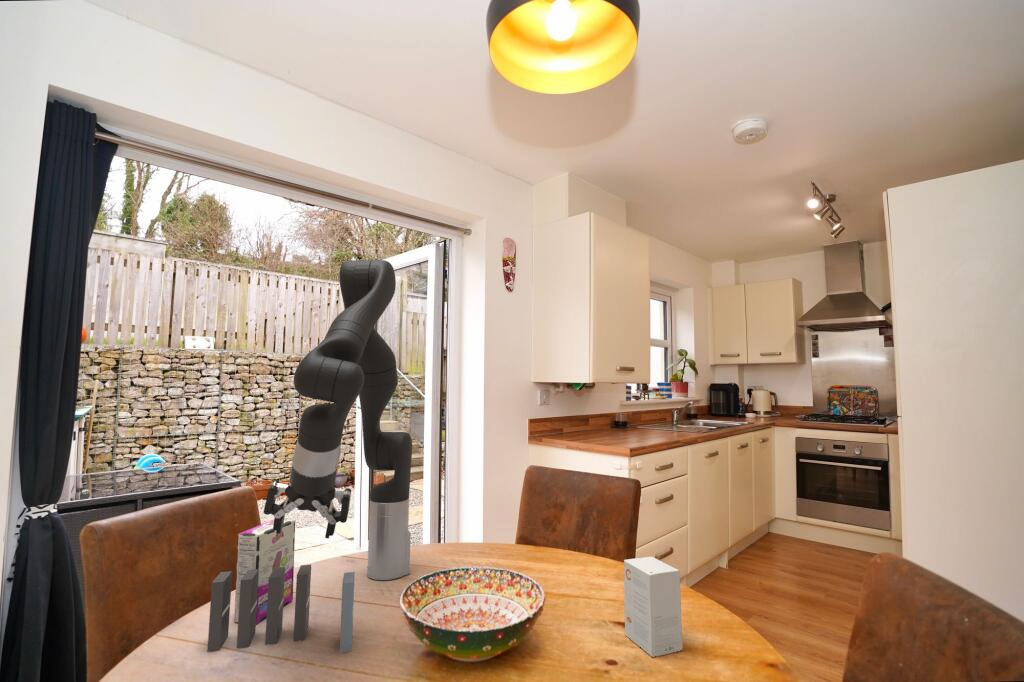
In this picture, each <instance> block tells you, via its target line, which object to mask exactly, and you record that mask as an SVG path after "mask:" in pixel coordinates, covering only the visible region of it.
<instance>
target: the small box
mask: <svg viewBox="0 0 1024 682" xmlns="http://www.w3.org/2000/svg"><path fill="white" fill-rule="evenodd" d="M623 574H624V575H623V576H624V577H623V580H624V581H623V582H624V583H623V586H624V589H623V590H624V592H623V593H624V634H625V637H626V638H628V639H629V638H630V640H631V641H632V642H633V643H634V644H635V645H637V646H638V647H639V648H640V647H641V650H643V651H644V652H645V651H646V652H645V653H646V654H648V655H649V656H650V657H651V658H654V657H655V656H656V657H660V656H664V655H668V654H669V653H670V654H673V652H674V653H677V651H678V652H680V650H682V651H683V649H684V648H683V646H684V645H683V623H682V618H683V617H682V598H681V597H682V596H681V594H682V593H681V571H680V570H679V569H678V568H675V567H673V566H671V565H670V564H667V563H665V562H664V561H661V560H660V559H657V557H656V558H655V557H654V556H645V557H636V558H629V559H628V558H627V559H624V560H623Z"/></svg>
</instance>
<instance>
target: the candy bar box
mask: <svg viewBox="0 0 1024 682" xmlns="http://www.w3.org/2000/svg"><path fill="white" fill-rule="evenodd" d="M273 525H274V519H272V520H270V521H267V522H264V523H261V524H259V525H257V526H254V527H252V528H249V529H247V530H244V531H242V532H240V533H238V534H237V551H236V576H235V577H236V579H235V596H234V597H235V601H234V602H235V603H234V621H233V622H234V623H236V624H238V617H239V600H240V583H241V579H242V578H243V576H244V575H245V573H246V572H247V571H248V570H252V569H259V578H258V596H257V614H256V625H258V624H259V623H261V622H262V621H264V620H265V619H267V601H268V582H269V576H270V575H271V573H272V571H273V569H274V568H277V567H285V580H284V600H283V607H284V606H286V605H287V604H290V603H291V602H292V601H293V600H294V575H295V573H294V571H295V569H294V568H295V544H296V543H295V541H296V540H295V539H296V538H295V537H296V536H295V535H296V519H293V518H292V519H290V518H289V519H288V518H284V524H283V528H282V531H281V533H280V534H277V533H276V530H274V529H273Z"/></svg>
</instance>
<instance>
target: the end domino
mask: <svg viewBox="0 0 1024 682" xmlns="http://www.w3.org/2000/svg"><path fill="white" fill-rule="evenodd" d="M232 581H233V571H232V570H229V571H220V572H219V574H218V575H217V576H216V577H215V578H214V580H213V581H212V582H211V588H210V592H211V593H210V604H209V605H210V607H209V619H208V621H209V622H208V638H207V649H206V650H207V653H211V652H218V651H220V650H221V649H222V647H223V645H224V643H225V642H226V641H227V639H228V637H229V628H230V627H229V626H230V611H231V598H232V597H231V596H232V595H231V593H232ZM208 651H209V652H208ZM210 651H211V652H210Z"/></svg>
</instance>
